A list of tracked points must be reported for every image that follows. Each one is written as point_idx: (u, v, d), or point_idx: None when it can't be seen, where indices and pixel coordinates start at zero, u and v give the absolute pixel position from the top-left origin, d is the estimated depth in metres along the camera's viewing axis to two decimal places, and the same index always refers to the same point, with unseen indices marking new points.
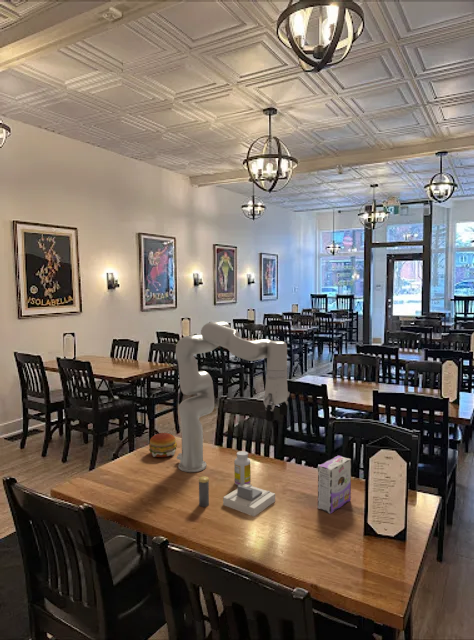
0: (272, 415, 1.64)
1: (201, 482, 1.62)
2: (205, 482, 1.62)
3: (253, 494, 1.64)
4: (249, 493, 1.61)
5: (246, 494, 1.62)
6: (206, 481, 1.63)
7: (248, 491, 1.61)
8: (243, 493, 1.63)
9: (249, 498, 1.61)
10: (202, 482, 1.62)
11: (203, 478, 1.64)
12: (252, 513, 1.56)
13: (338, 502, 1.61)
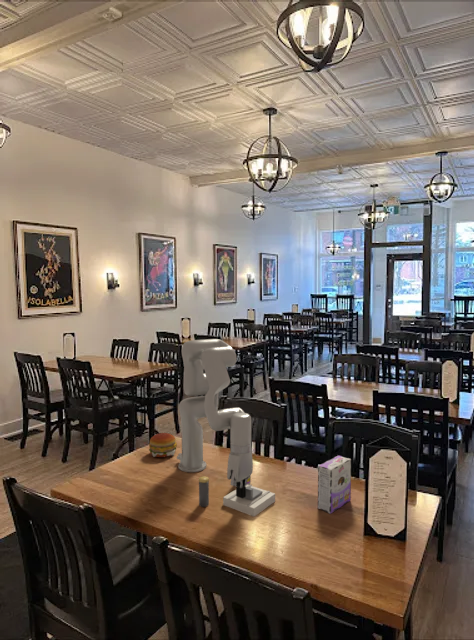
0: (242, 492, 1.60)
1: (201, 482, 1.62)
2: (205, 482, 1.62)
3: (253, 494, 1.64)
4: (249, 493, 1.61)
5: (246, 493, 1.62)
6: (206, 481, 1.63)
7: (248, 491, 1.61)
8: None
9: (249, 498, 1.61)
10: (202, 482, 1.62)
11: (203, 478, 1.64)
12: (252, 513, 1.56)
13: (338, 502, 1.61)
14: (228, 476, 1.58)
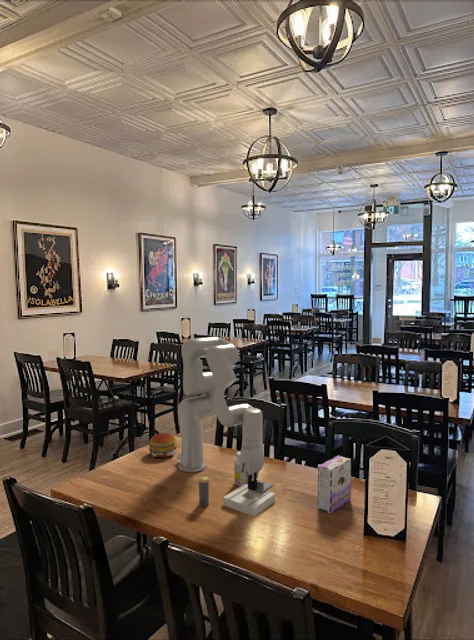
0: (253, 484, 1.65)
1: (201, 482, 1.62)
2: (205, 482, 1.62)
3: (264, 487, 1.70)
4: (260, 486, 1.67)
5: (258, 486, 1.68)
6: (206, 481, 1.63)
7: (259, 484, 1.67)
8: None
9: (260, 490, 1.67)
10: (202, 482, 1.62)
11: (203, 478, 1.64)
12: (252, 513, 1.56)
13: (338, 502, 1.61)
14: (240, 469, 1.63)
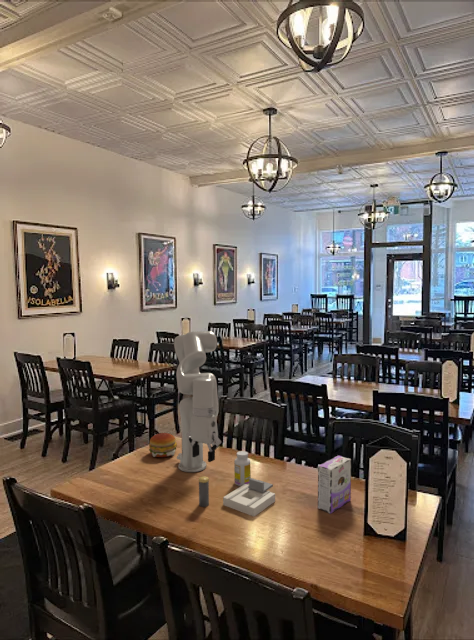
0: None
1: (201, 482, 1.62)
2: (205, 482, 1.62)
3: (264, 487, 1.70)
4: (261, 486, 1.67)
5: (258, 486, 1.68)
6: (206, 481, 1.63)
7: (260, 484, 1.67)
8: (254, 485, 1.69)
9: (261, 490, 1.67)
10: (202, 482, 1.62)
11: (203, 478, 1.64)
12: (252, 513, 1.56)
13: (338, 502, 1.61)
14: None
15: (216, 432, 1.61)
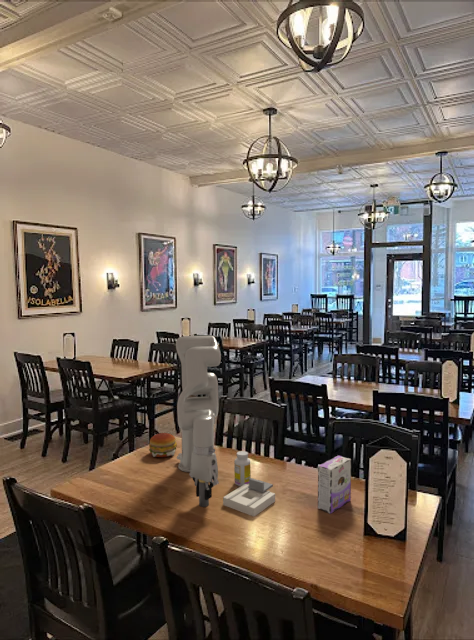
0: None
1: (201, 482, 1.62)
2: None
3: (264, 487, 1.70)
4: (261, 486, 1.67)
5: (258, 486, 1.68)
6: None
7: (260, 484, 1.67)
8: (254, 485, 1.69)
9: (261, 490, 1.67)
10: (202, 482, 1.62)
11: None
12: (252, 513, 1.56)
13: (338, 502, 1.61)
14: None
15: (216, 470, 1.62)
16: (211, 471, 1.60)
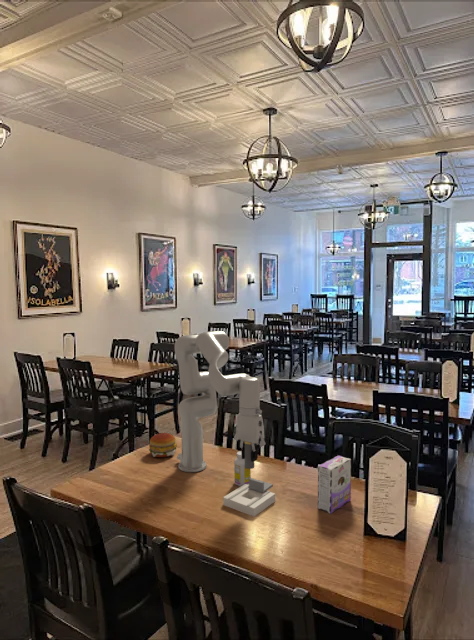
0: None
1: (247, 444, 1.62)
2: (251, 444, 1.62)
3: (264, 487, 1.70)
4: (261, 486, 1.67)
5: (258, 486, 1.68)
6: None
7: (260, 484, 1.67)
8: (254, 485, 1.69)
9: (261, 490, 1.67)
10: (248, 444, 1.62)
11: None
12: (252, 513, 1.56)
13: (338, 502, 1.61)
14: None
15: (263, 431, 1.62)
16: (258, 432, 1.60)
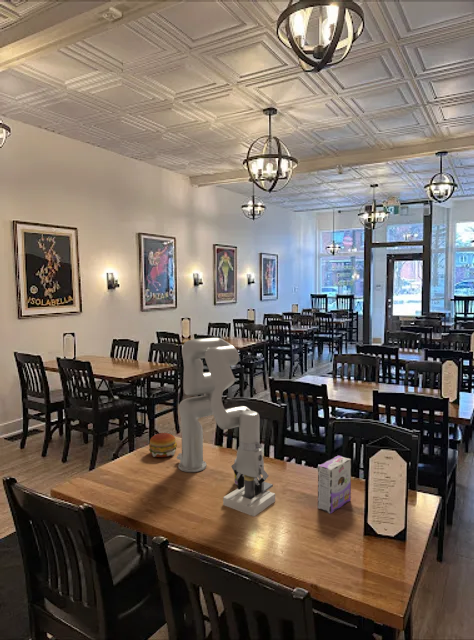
0: None
1: (247, 480, 1.63)
2: (251, 480, 1.63)
3: (264, 487, 1.70)
4: None
5: None
6: (252, 479, 1.64)
7: None
8: (254, 485, 1.69)
9: None
10: (248, 480, 1.63)
11: (249, 476, 1.65)
12: (252, 513, 1.56)
13: (338, 502, 1.61)
14: None
15: (262, 466, 1.63)
16: (258, 467, 1.61)
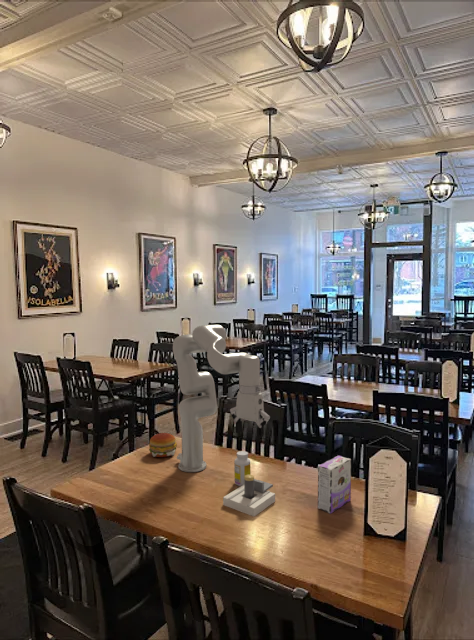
0: None
1: (247, 480, 1.63)
2: (251, 480, 1.63)
3: (264, 487, 1.70)
4: (261, 486, 1.67)
5: (258, 486, 1.68)
6: (252, 479, 1.64)
7: (260, 484, 1.67)
8: (254, 485, 1.69)
9: (261, 490, 1.67)
10: (248, 480, 1.63)
11: (248, 476, 1.65)
12: (252, 513, 1.56)
13: (338, 502, 1.61)
14: None
15: (263, 410, 1.61)
16: (258, 410, 1.59)
